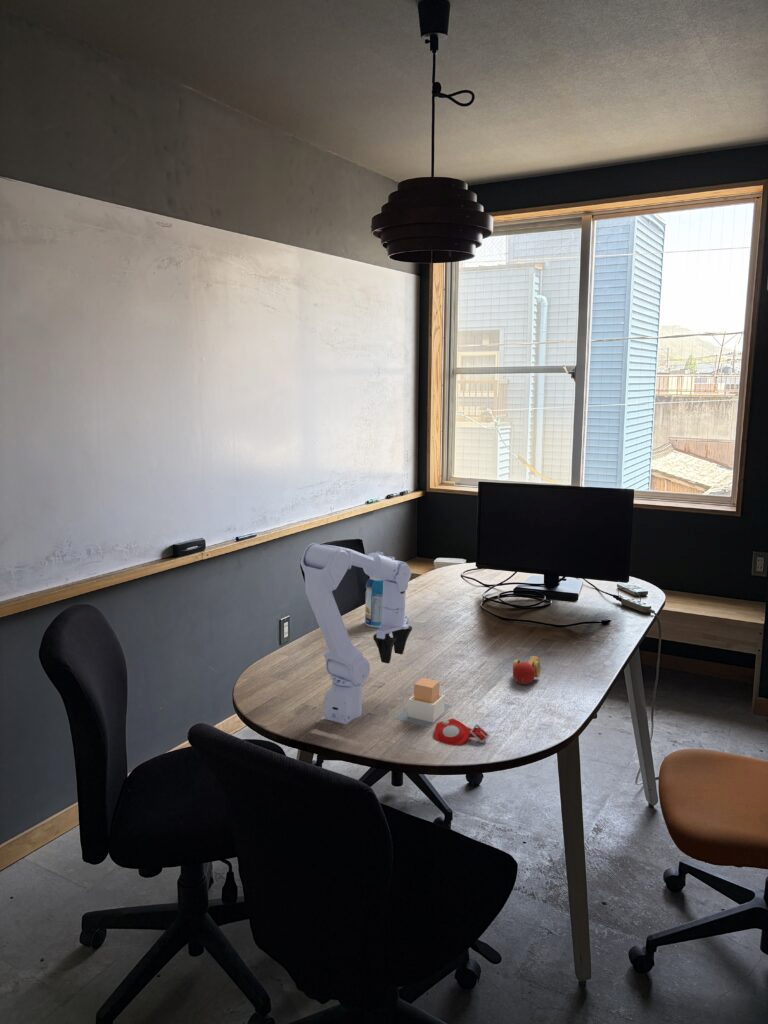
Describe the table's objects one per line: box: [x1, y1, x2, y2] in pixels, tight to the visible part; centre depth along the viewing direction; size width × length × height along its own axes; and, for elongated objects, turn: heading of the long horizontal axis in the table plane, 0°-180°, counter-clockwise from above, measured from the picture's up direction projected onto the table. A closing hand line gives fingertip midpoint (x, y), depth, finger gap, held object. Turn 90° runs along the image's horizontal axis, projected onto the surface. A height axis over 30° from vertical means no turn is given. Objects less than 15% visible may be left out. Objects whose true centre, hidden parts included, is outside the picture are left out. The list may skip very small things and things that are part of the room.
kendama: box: [512, 655, 541, 685], centre depth 212 cm, size 8×6×18 cm
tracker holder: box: [433, 718, 490, 747], centre depth 173 cm, size 12×4×10 cm
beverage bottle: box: [364, 575, 383, 629], centre depth 253 cm, size 8×8×20 cm
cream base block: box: [407, 693, 446, 722], centre depth 183 cm, size 7×7×4 cm
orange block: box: [413, 677, 441, 704], centre depth 182 cm, size 5×5×4 cm
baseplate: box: [394, 703, 452, 728], centre depth 185 cm, size 14×9×1 cm, turn 153°
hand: (392, 657), depth 194 cm, fingers open, 7 cm apart
